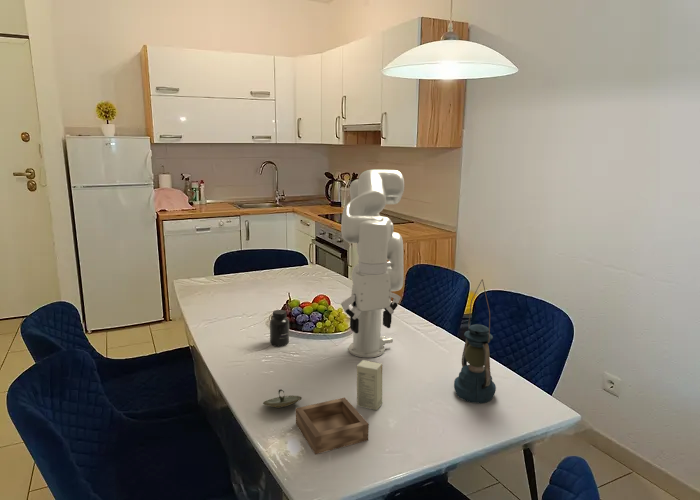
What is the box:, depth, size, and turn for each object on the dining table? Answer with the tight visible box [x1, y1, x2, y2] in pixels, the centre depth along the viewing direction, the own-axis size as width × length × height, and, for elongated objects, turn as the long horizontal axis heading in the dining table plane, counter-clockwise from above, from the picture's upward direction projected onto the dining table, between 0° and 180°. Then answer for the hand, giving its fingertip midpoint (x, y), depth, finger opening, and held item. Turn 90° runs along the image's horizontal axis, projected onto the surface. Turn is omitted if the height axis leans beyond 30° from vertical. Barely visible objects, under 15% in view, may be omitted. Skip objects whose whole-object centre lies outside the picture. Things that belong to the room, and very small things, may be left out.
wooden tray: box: [295, 397, 370, 455], centre depth 127 cm, size 14×14×4 cm
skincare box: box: [356, 359, 383, 411], centre depth 139 cm, size 6×4×12 cm
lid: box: [262, 389, 303, 409], centre depth 138 cm, size 11×10×5 cm
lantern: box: [453, 279, 497, 404], centre depth 143 cm, size 14×12×35 cm
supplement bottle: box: [269, 309, 290, 347], centre depth 180 cm, size 7×7×12 cm
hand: (370, 329), depth 136 cm, fingers open, 9 cm apart
